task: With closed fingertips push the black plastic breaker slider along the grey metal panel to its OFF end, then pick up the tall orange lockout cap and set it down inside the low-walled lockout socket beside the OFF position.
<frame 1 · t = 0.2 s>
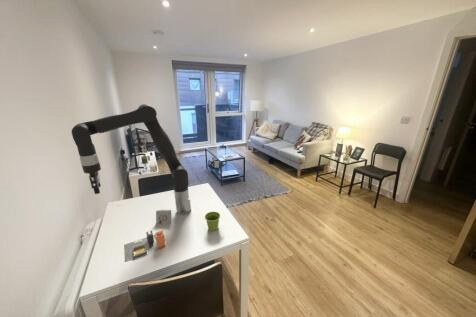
hand: (98, 190, 108), 29 cm above the table, fingers open, 8 cm apart
plant pot: (213, 228, 123), on the table
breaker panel: (145, 247, 107), on the table
lockout cap: (161, 244, 108), point 1 cm above the table, touching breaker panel
electrical switch: (164, 222, 127), on the table
breaker slider: (150, 236, 110), point 4 cm above the table, slide at 0.0 cm
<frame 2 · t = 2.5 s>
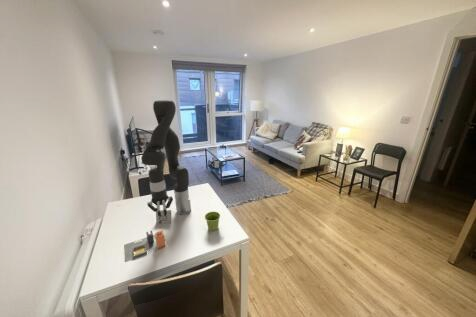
hand: (162, 215, 110), 15 cm above the table, fingers closed
nothing on the table moved.
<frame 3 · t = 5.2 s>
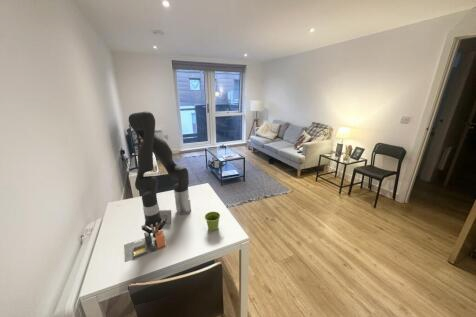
hand: (156, 237, 111), 3 cm above the table, fingers closed
breaker slider: (147, 236, 109), point 4 cm above the table, slide at 1.1 cm, touching gripper
everything else where it was.
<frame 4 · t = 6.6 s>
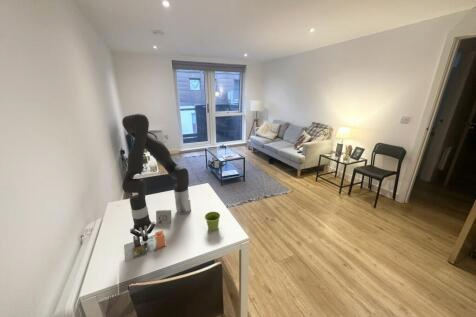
hand: (145, 240, 109), 3 cm above the table, fingers closed
breaker slider: (136, 240, 107), point 4 cm above the table, slide at 6.5 cm, touching gripper
everything else where it was.
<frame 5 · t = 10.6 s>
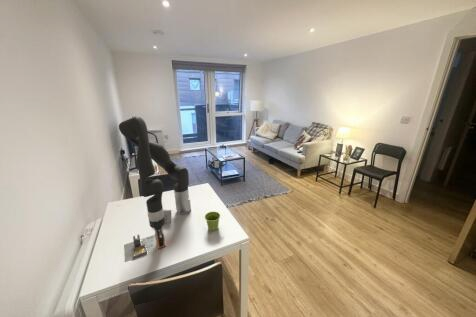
hand: (160, 242, 107), 3 cm above the table, fingers closed on lockout cap, 4 cm apart
lockout cap: (161, 244, 108), point 1 cm above the table, touching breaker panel, gripper
breaker slider: (136, 240, 107), point 4 cm above the table, slide at 6.5 cm
everything else where it was.
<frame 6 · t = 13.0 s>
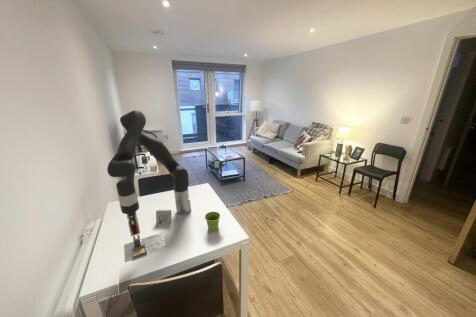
hand: (135, 230, 98), 15 cm above the table, fingers closed on lockout cap, 4 cm apart
lockout cap: (135, 232, 99), point 14 cm above the table, touching gripper
everything else where it was.
when the fingers open (4 cm above the table, at t = 15.2 s): lockout cap drops 1 cm, resting on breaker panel.
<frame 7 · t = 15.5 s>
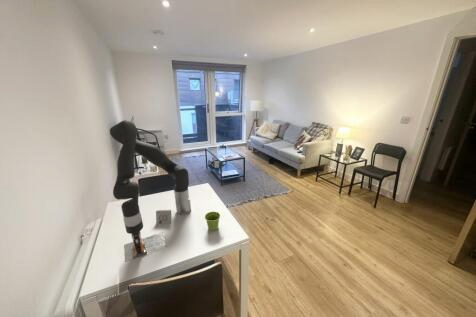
hand: (139, 248, 101), 5 cm above the table, fingers open, 7 cm apart
lockout cap: (139, 251, 103), point 2 cm above the table, touching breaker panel
breaker slider: (136, 240, 107), point 4 cm above the table, slide at 6.5 cm, touching gripper
everything else where it was.
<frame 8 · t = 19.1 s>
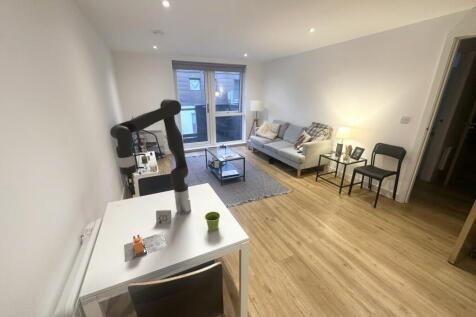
hand: (132, 191, 109), 28 cm above the table, fingers open, 8 cm apart
breaker slider: (137, 240, 107), point 4 cm above the table, slide at 6.5 cm
everything else where it was.
at the end: breaker slider slide at 6.5 cm; lockout cap 0.1 cm from the target spot on the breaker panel, point 1.6 cm above the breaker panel's base; lockout cap tilted 0° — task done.
